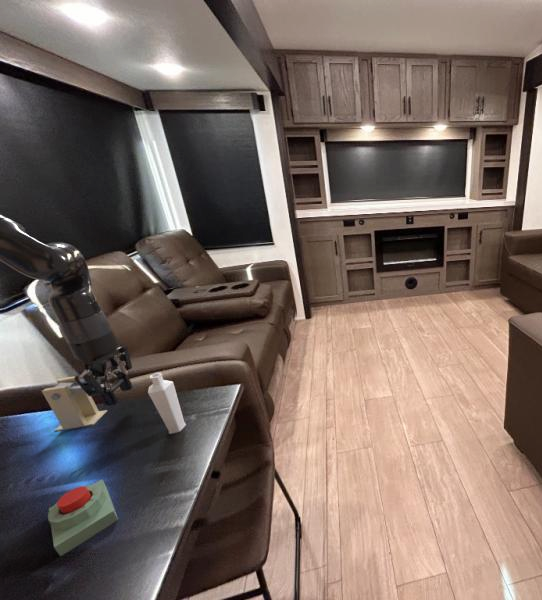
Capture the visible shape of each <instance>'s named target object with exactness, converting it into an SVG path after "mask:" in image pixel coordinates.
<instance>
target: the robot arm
mask: <svg viewBox="0 0 542 600" xmlns="http://www.w3.org/2000/svg"><path fill="white" fill-rule="evenodd" d="M0 261H1V262H2V263H4V264H6V265H7V266H8V267H10V268H12V269H13V270H15V271H17V272H18V273H20V274H22V275H24V276H26V277H28V278H31V279H34V280H36V281H40V282H45V283H47V282H49V285H50V288H51V292H50V294H49V296H48V304H49V306H50V309H51V310H52V312H53V315H54V317H55V319H56V320H57V322H58V326H59V328H60V331H61V334H62V336H63V337H64V339H65V341H66V344H67V345H68V347H69V349H70V351H71V353H72V355H73V357H74V359H76V360H78V361H80V362H82V364H83V372H81V374H79V375H75V378H74V379H75V381H76V382H77V383H78V384H79V386H80V387H81V388H82V389H83V390H84V391H85V392H86V393H87V395H88V396H91V397H93V396H99V397H100V400H101V401H102V403H103V405H104V406H107V407H110V406H115V405H116V404H117V403H118V402H119V400H118V398H117V397H116V395H115V391H114V392H113V390H111V386H110V384H111V381H112V379H113V377H114V378H115V381H117V380H118V379H119V378H123V379H124V380H125V382H124V383H123V384H122V385H121V386H120V387H119V389H120V390H121V391H122V392H126V391H131V390H132V389H133V385H132V381H131V379H130V377H129V373H130V372H129V370H132V368H133V365H132V359H131V356H130V351H129V348H128V346H126V345H123V346H119V345H120V344H119V342H118V339H117V338H116V334H115V332H114V330H113V328H112V326H111V324H110V322H109V320H108V318H107V316H106V315H105V313H104V311H103V310H102V307H101V306H100V303H99V301H98V299H97V297H96V295H95V292H94V290H93V286H92V280H91V275H90V270H89V267H88V264H87V261H86V259H85V257H84V255H83V254H82V253H81V251H80V250H79V249H78V248H77V247H75V246H73V245H71V244H69V243H66V242H61V241H55V242H54V241H53V242H49V243H46V244H45V243H44V242H41V241H39V240H37V239H36V238H34V237H32V236H30V235H29V234H27V232H26V229H25V227H24V226H22V224H20V223H19V222H17V221H14V220H13V219H11V218H9V217H7V216H5V215H3V214H1V213H0ZM123 362H125V363H123ZM112 375H113V376H112ZM101 383H102V384H104V387H101ZM92 388H93V389H94V390H93V389H92Z"/></svg>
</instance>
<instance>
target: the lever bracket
mask: <svg viewBox="0 0 542 600" xmlns="http://www.w3.org/2000/svg"><path fill="white" fill-rule="evenodd" d="M75 376H76V375H75ZM75 376H67V377H61V378H58V379H57V380H56V382H57V385H58V384H60V383H67V382H74V383H75V385H76V386H79V384H78V383H77V382H76V381H75V379H74V378H75ZM41 393H42V395H43V396H44V398H45V400H46V401H47V403H48V405H49V407H50V409H51V410H52V413H54V416H55V417H56V419H57V421H58V422H59V426H57V427H56V428H55V429H54V432H61V431H65V430H72V429H78V428H85V427H88V426H94V425H95V424H96V423H97V422H98V421H99V420H100V419H101V418H103V416H104V415H105V414H106V413H107V412H108V410H107V409H104V410H99V409H98V407H97V405H96V402H95V401H94V399H93V396H88V395H87V393H86V392H85V391H82V392H75V393H74V394H72V393H71V391H70V389H69V388H68V386H67V385H66V386H60V387H55V386H53V387H47V388H44V389H43V390H41Z"/></svg>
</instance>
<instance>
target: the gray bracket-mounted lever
mask: <svg viewBox="0 0 542 600" xmlns="http://www.w3.org/2000/svg"><path fill="white" fill-rule="evenodd" d="M124 382H125V380H124V379H123V378H119V379H118V380H115V381H114V382H112V383H110V386H111V390H113V392H114V393H115V391H116V390H118V389H119V388H120V386H121V385H122V384H123V383H124ZM100 384H101V383H100ZM66 385H67V386H68V388H69V389H70V391H71V393H72V394H74V393H75V392H82V391H84V390H83V389H82V388H81V387H80V386H76V385H75V383H74V382H67V383H60V384H58V383H57V385H55V386H54V387H60V386H66ZM101 387H104V383H102V384H101ZM92 389H93V388H92ZM93 390H94V389H93Z"/></svg>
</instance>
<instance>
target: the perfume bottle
mask: <svg viewBox="0 0 542 600" xmlns="http://www.w3.org/2000/svg"><path fill="white" fill-rule="evenodd" d="M149 380H150V381H151V383H152V384H151V385H149V386H148V389H147V394H148V395H149V397H150V399H151V401H152V403H153V405H154V407H155V408H156V410H157V412H158V414H159V416H160V417H161V419H162V421H163V423H164V425H165V427H166V429H167V430H168V434H169V435H171V434H177V433H180V432H181V431H182V430H183V429H184V428H185V427H186V426H187V423H186V422H185V421H184V420H185V419H184V416H183V413H182V409H181V406H180V405H181V404H180V402H179V399H178V395H177V391H176V387H175V384H174V381H171V380H167V379H164V377H163V374H162V372H155V373H152V374H150V375H149Z"/></svg>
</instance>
